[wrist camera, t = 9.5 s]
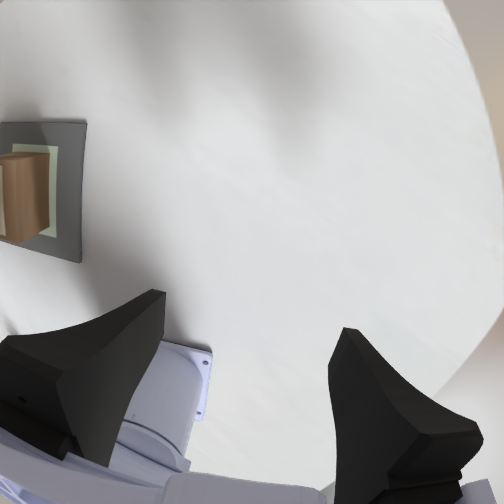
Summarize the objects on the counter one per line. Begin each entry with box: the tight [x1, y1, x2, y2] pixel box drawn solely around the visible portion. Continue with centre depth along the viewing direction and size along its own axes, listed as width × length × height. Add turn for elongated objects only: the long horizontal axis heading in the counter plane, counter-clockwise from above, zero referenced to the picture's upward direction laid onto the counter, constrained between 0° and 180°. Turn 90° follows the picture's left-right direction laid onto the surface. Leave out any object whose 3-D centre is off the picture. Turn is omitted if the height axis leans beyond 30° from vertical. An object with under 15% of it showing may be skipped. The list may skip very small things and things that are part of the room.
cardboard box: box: [0, 151, 50, 244], centre depth 19 cm, size 4×6×4 cm, turn 170°
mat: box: [0, 122, 87, 263], centre depth 22 cm, size 11×10×1 cm
